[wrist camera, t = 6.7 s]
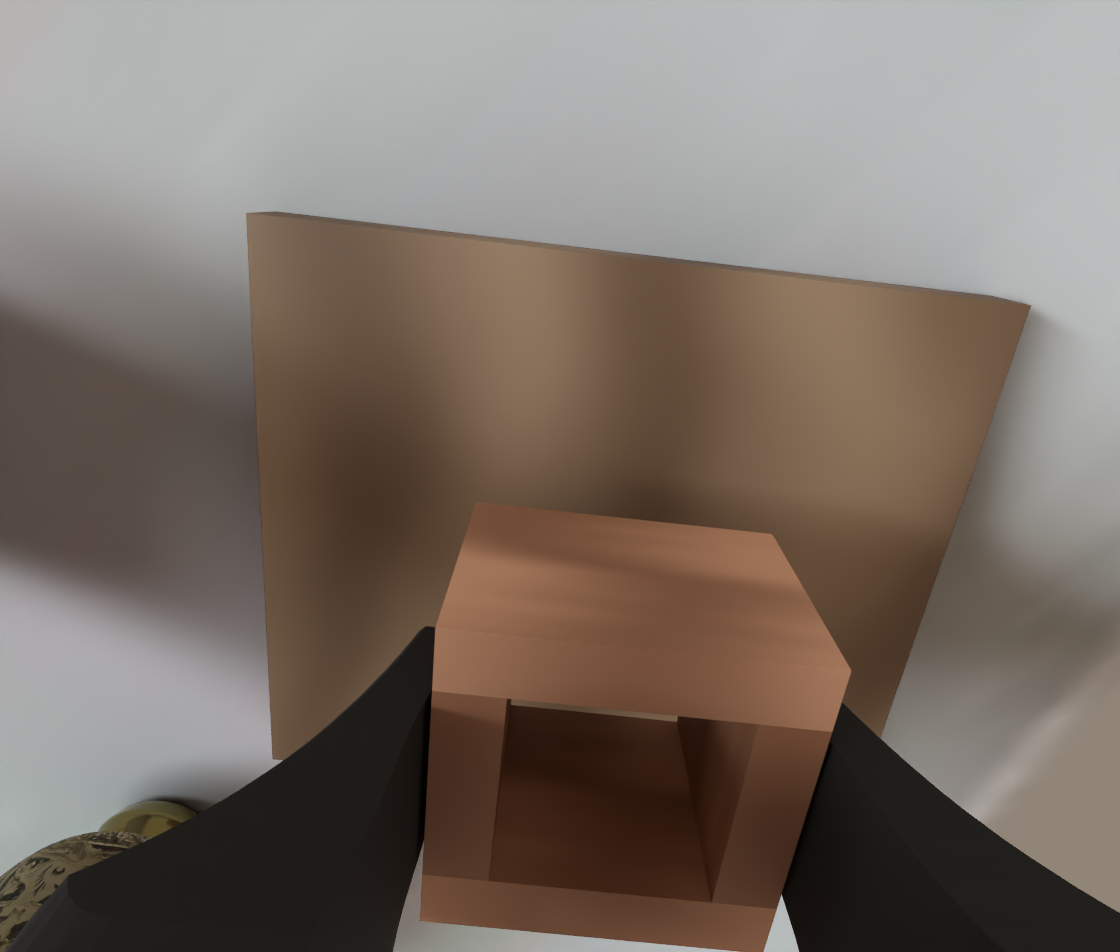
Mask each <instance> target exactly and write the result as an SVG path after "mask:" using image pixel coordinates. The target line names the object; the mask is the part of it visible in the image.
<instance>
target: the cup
mask: <svg viewBox="0 0 1120 952" xmlns="http://www.w3.org/2000/svg"><path fill="white" fill-rule="evenodd" d="M196 815H197V813H196V812H194V811H192V810H191V809H189V808H186V807H184V806H182V805H179V804H176V803H172V802H166V801H145V802H140V803H137V804H134V805H131V806H129V807H127V808H125V809H123V810H122V811H120V812H118V813H117V814H115V815H114V816H112V817H111V818H109V819H108V820H107V821H106V822H105V823H104V824H103V825H102V826H101V827H100V829H99V830H98V832H93V833H87V834H82V835H78V836H73V837H70V838H67V839H64V840H61V841H59V842H56V843H54V844H51V845H49V846H47V847H45V848H43V849H41V850H39V851H37V852H36V853H34V854H32V855H31V856H29V857H27V858H26V859H24V860H22V861H21V862H19V863H18V864H17V865H15V866H14V867H13V868H11V869H10V870H9V871H7V872H6V873H5V874H3V875H2V876H1V877H0V952H5V951H6V950H7V948H8V947H9V946H10V944H11V943H12V942H13V940H14V939H15V938H16V936H17V935H18V934H19V932H20V931H21V930H22V928H23V927H24V926H25V925H26V923H27V922H28V921H29V920H30V918H31V917H32V916H33V915H34V914H35V912H36V911H37V910H38V909H39V907H40V906H41V905H42V904H43V903H44V902H45V901H46V900H47V899H48V898H49V897H50V895H51V894H52V893H53V892H54V891H55V890H56V889H57V888H58V887H59V885H60V884H61V883H62V882H63V881H64V879H65V878H66V877H67V876H68V875H69V874H72V873H74V872H77V871H79V870H82V869H84V868H86V867H89V866H91V865H93V864H95V863H98V862H100V861H102V860H104V859H107V858H109V857H111V856H113V855H116V854H118V853H120V852H122V851H124V850H127V849H129V848H131V847H133V846H136V845H138V844H140V843H142V842H145V841H147V840H149V839H151V838H153V837H155V836H157V835H159V834H161V833H163V832H165V831H167V830H169V829H171V828H173V827H175V826H177V825H178V824H180V823H182V822H184V821H186V820H188V819H190V818H192V817H194V816H196Z"/></svg>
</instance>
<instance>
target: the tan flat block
mask: <svg viewBox="0 0 1120 952" xmlns="http://www.w3.org/2000/svg"><path fill="white" fill-rule="evenodd" d="M246 218H247V239H248V260H249V280H250V301H251V321H252V342H253V363H254V383H255V404H256V425H257V445H258V466H259V487H260V507H261V528H262V549H263V569H264V590H265V611H266V631H267V652H268V673H269V693H270V714H271V735H272V755H273V759H277V760H285V759H286V758H287V757H289V756H290V755H291V754H293V753H294V752H295V751H297V750H298V749H299V748H301V747H302V746H303V745H304V744H306V743H307V742H308V741H309V740H311V739H312V738H313V737H314V736H316V735H317V734H318V733H319V732H320V731H322V730H323V729H324V728H325V727H326V726H328V725H329V724H330V723H331V722H332V721H333V720H334V719H335V718H336V717H338V716H339V715H340V714H341V713H342V712H343V711H344V710H345V709H346V708H348V707H349V706H350V705H351V704H352V703H353V702H354V701H355V700H356V699H357V698H358V697H359V696H361V695H362V694H363V693H364V692H365V691H366V690H367V688H368V687H369V686H370V685H371V684H372V683H373V682H374V681H375V680H376V679H377V678H378V677H379V676H380V675H381V674H382V673H383V672H384V671H385V670H386V669H387V668H388V667H389V666H390V665H391V664H392V662H393V661H394V660H395V659H396V658H397V657H398V656H399V655H400V653H401V652H402V651H403V650H404V649H405V648H406V647H407V645H408V644H409V643H410V642H411V641H412V639H413V638H414V637H415V636H416V634H417V633H418V632H419V631H420V630H421V629H422V628H424V627H425V626H431V627H436V624H437V621H438V618H439V615H440V612H441V609H442V605H443V602H444V599H445V596H446V593H447V590H448V587H449V584H450V581H451V578H452V575H453V572H454V569H455V565H456V562H457V559H458V556H459V553H460V550H461V547H462V544H463V541H464V538H465V535H466V532H467V529H468V525H469V522H470V519H471V516H472V513H473V510H474V507H475V504H476V502H481V503H490V504H499V505H508V506H517V507H527V508H536V509H545V510H554V511H564V512H573V513H582V514H591V515H601V516H610V517H619V518H628V519H638V520H647V521H656V522H665V523H674V524H684V525H693V526H702V527H711V528H721V529H730V530H739V531H748V532H758V533H767V534H772V535H773V536H774V538H775V540H776V541H777V543H778V545H779V547H780V548H781V550H782V552H783V554H784V555H785V557H786V559H787V560H788V562H789V564H790V566H791V567H792V569H793V571H794V572H795V574H796V576H797V578H798V579H799V581H800V583H801V585H802V586H803V588H804V590H805V591H806V593H807V595H808V597H809V598H810V600H811V602H812V604H813V605H814V607H815V609H816V610H817V612H818V614H819V616H820V617H821V619H822V621H823V622H824V624H825V626H826V628H827V629H828V631H829V633H830V635H831V636H832V638H833V640H834V641H835V643H836V645H837V647H838V648H839V650H840V652H841V653H842V655H843V657H844V659H845V660H846V662H847V664H848V666H849V667H850V669H851V674H850V677H849V680H848V683H847V687H846V690H845V693H844V696H843V699H842V702H843V703H844V704H845V705H846V706H847V707H848V708H849V709H850V710H851V711H852V712H853V713H854V714H855V715H856V716H857V717H858V718H859V719H860V720H861V721H862V722H863V723H864V724H865V725H866V726H867V727H869V728H870V729H871V730H872V731H873V732H874V733H875V734H876V735H877V736H878V737H879V738H880V737H881V734H882V731H883V728H884V726H885V723H886V720H887V717H888V714H889V711H890V708H891V705H892V703H893V700H894V697H895V694H896V691H897V688H898V685H899V683H900V680H901V677H902V674H903V671H904V668H905V665H906V662H907V660H908V657H909V654H910V651H911V648H912V645H913V642H914V640H915V637H916V634H917V631H918V628H919V625H920V622H921V619H922V617H923V614H924V611H925V608H926V605H927V602H928V599H929V597H930V594H931V591H932V588H933V585H934V582H935V579H936V576H937V574H938V571H939V568H940V565H941V562H942V559H943V556H944V554H945V551H946V548H947V545H948V542H949V539H950V536H951V533H952V531H953V528H954V525H955V522H956V519H957V516H958V513H959V511H960V508H961V505H962V502H963V499H964V496H965V493H966V490H967V488H968V485H969V482H970V479H971V476H972V473H973V470H974V468H975V465H976V462H977V459H978V456H979V453H980V450H981V447H982V445H983V442H984V439H985V436H986V433H987V430H988V427H989V425H990V422H991V419H992V416H993V413H994V410H995V407H996V404H997V402H998V399H999V396H1000V393H1001V390H1002V387H1003V384H1004V382H1005V379H1006V376H1007V373H1008V370H1009V367H1010V364H1011V361H1012V359H1013V356H1014V353H1015V350H1016V347H1017V344H1018V341H1019V339H1020V336H1021V333H1022V330H1023V327H1024V324H1025V321H1026V318H1027V316H1028V313H1029V310H1030V307H1031V305H1027V304H1023V303H1018V302H1014V301H1010V300H1006V299H1002V298H998V297H994V296H988V295H979V294H971V293H962V292H954V291H945V290H937V289H928V288H920V287H911V286H903V285H894V284H886V283H877V282H869V281H860V280H852V279H843V278H835V277H827V276H818V275H810V274H801V273H793V272H784V271H776V270H767V269H759V268H750V267H742V266H733V265H725V264H716V263H708V262H699V261H691V260H682V259H674V258H665V257H657V256H648V255H640V254H631V253H623V252H614V251H606V250H597V249H589V248H580V247H572V246H563V245H555V244H546V243H538V242H529V241H521V240H512V239H504V238H495V237H487V236H478V235H470V234H461V233H453V232H444V231H436V230H427V229H419V228H410V227H402V226H393V225H385V224H376V223H368V222H359V221H351V220H343V219H334V218H326V217H317V216H309V215H300V214H292V213H283V212H260V213H246ZM511 705H519V706H529V707H539V708H548V709H558V710H568V711H578V712H587V713H597V714H607V715H617V716H626V717H636V718H646V719H656V720H665V721H675V722H677V719H678V716H672V715H662V714H652V713H643V712H633V711H623V710H613V709H604V708H594V707H584V706H575V705H565V704H555V703H545V702H536V701H526V700H516V699H512V700H511Z"/></svg>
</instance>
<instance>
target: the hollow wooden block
mask: <svg viewBox="0 0 1120 952" xmlns="http://www.w3.org/2000/svg"><path fill="white" fill-rule="evenodd" d="M850 674H851V669H850V667H849V666H848V664H847V662H846V660H845V659H844V657H843V655H842V653H841V652H840V650H839V648H838V647H837V645H836V643H835V641H834V640H833V638H832V636H831V635H830V633H829V631H828V629H827V628H826V626H825V624H824V622H823V621H822V619H821V617H820V616H819V614H818V612H817V610H816V609H815V607H814V605H813V604H812V602H811V600H810V598H809V597H808V595H807V593H806V591H805V590H804V588H803V586H802V585H801V583H800V581H799V579H798V578H797V576H796V574H795V572H794V571H793V569H792V567H791V566H790V564H789V562H788V560H787V559H786V557H785V555H784V554H783V552H782V550H781V548H780V547H779V545H778V543H777V541H776V540H775V538H774V536H773V535H772V534H767V533H758V532H748V531H739V530H730V529H721V528H711V527H702V526H693V525H684V524H674V523H665V522H656V521H647V520H638V519H628V518H619V517H610V516H601V515H591V514H582V513H573V512H564V511H554V510H545V509H536V508H527V507H517V506H508V505H499V504H490V503H481V502H476V504H475V507H474V510H473V513H472V516H471V519H470V522H469V525H468V529H467V532H466V535H465V538H464V541H463V544H462V547H461V550H460V553H459V556H458V559H457V562H456V565H455V569H454V572H453V575H452V578H451V581H450V584H449V587H448V590H447V593H446V596H445V599H444V602H443V605H442V609H441V612H440V615H439V618H438V621H437V624H436V627H435V644H434V663H433V682H432V701H431V720H430V739H429V758H428V777H427V796H426V815H425V834H424V853H423V872H422V891H421V910H420V921H427V922H437V923H448V924H458V925H468V926H479V927H489V928H500V929H510V930H521V931H531V932H541V933H552V934H562V935H573V936H583V937H594V938H604V939H614V940H625V941H635V942H646V943H656V944H667V945H677V946H687V947H698V948H708V949H719V950H729V951H740V952H763V951H764V948H765V945H766V942H767V938H768V935H769V932H770V929H771V926H772V922H773V919H774V916H775V913H776V910H777V907H778V903H779V900H780V897H781V894H782V891H783V887H784V884H785V881H786V878H787V875H788V871H789V868H790V865H791V862H792V859H793V856H794V852H795V849H796V846H797V843H798V840H799V836H800V833H801V830H802V827H803V824H804V820H805V817H806V814H807V811H808V808H809V805H810V801H811V798H812V795H813V792H814V789H815V785H816V782H817V779H818V776H819V773H820V770H821V766H822V763H823V760H824V757H825V754H826V750H827V747H828V744H829V741H830V738H831V734H832V731H833V728H834V725H835V722H836V719H837V715H838V712H839V709H840V706H841V703H842V699H843V696H844V693H845V690H846V687H847V683H848V680H849V677H850ZM512 699H516V700H526V701H536V702H545V703H555V704H565V705H575V706H584V707H594V708H604V709H613V710H623V711H633V712H643V713H652V714H662V715H672V716H678V719H677V722H675V721H665V720H656V719H646V718H636V717H626V716H617V715H607V714H597V713H587V712H578V711H568V710H558V709H548V708H539V707H529V706H519V705H511V700H512Z"/></svg>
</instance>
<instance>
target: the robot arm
mask: <svg viewBox="0 0 1120 952" xmlns="http://www.w3.org/2000/svg"><path fill="white" fill-rule="evenodd" d="M434 644H435V627H431V626H425V627H424V628H422V629H421V630H420V631H419V632H418V633H417V634H416V636H415V637H414V638H413V639H412V641H411V642H410V643H409V644H408V645H407V647H406V648H405V649H404V650H403V651H402V652H401V653H400V655H399V656H398V657H397V658H396V659H395V660H394V661H393V662H392V664H391V665H390V666H389V667H388V668H387V669H386V670H385V671H384V672H383V673H382V674H381V675H380V676H379V677H378V678H377V679H376V680H375V681H374V682H373V683H372V684H371V685H370V686H369V687H368V688H367V690H366V691H365V692H364V693H363V694H362V695H361V696H359V697H358V698H357V699H356V700H355V701H354V702H353V703H352V704H351V705H350V706H349V707H348V708H346V709H345V710H344V711H343V712H342V713H341V714H340V715H339V716H338V717H336V718H335V719H334V720H333V721H332V722H331V723H330V724H329V725H328V726H326V727H325V728H324V729H323V730H322V731H320V732H319V733H318V734H317V735H316V736H314V737H313V738H312V739H311V740H309V741H308V742H307V743H306V744H304V745H303V746H302V747H301V748H299V749H298V750H297V751H295V752H294V753H293V754H291V755H290V756H289V757H287V758H286V759H285V760H283V761H282V762H281V763H279V764H278V765H276V766H275V767H273V768H272V769H270V770H269V771H267V772H266V773H264V774H263V775H262V776H260V777H259V778H257V779H256V780H254V781H252V782H251V783H249V784H248V785H246V786H245V787H243V788H242V789H240V790H238V791H237V792H235V793H234V794H232V795H231V796H229V797H227V798H226V799H224V800H222V801H221V802H219V803H217V804H215V805H213V806H212V807H210V808H208V809H206V810H205V811H203V812H201V813H199V814H197V815H196V816H194V817H192V818H190V819H188V820H186V821H184V822H182V823H180V824H178V825H177V826H175V827H173V828H171V829H169V830H167V831H165V832H163V833H161V834H159V835H157V836H155V837H153V838H151V839H149V840H147V841H145V842H142V843H140V844H138V845H136V846H133V847H131V848H129V849H127V850H124V851H122V852H120V853H118V854H116V855H113V856H111V857H109V858H107V859H104V860H102V861H100V862H98V863H95V864H93V865H91V866H89V867H86V868H84V869H82V870H79V871H77V872H74V873H72V874H69V875H68V876H67V877H66V878H65V879H64V881H63V882H62V883H61V884H60V885H59V887H58V888H57V889H56V890H55V891H54V892H53V893H52V894H51V895H50V897H49V898H48V899H47V900H46V901H45V902H44V903H43V904H42V905H41V906H40V907H39V909H38V910H37V911H36V912H35V914H34V915H33V916H32V917H31V918H30V920H29V921H28V922H27V923H26V925H25V926H24V927H23V928H22V930H21V931H20V932H19V934H18V935H17V936H16V938H15V939H14V940H13V942H12V943H11V944H10V946H9V947H8V948H7V950H6V951H5V952H393V947H394V943H395V938H396V934H397V929H398V925H399V921H400V918H401V914H402V910H403V907H404V903H405V899H406V896H407V893H408V889H409V886H410V883H411V880H412V877H413V873H414V870H415V867H416V864H417V861H418V857H419V854H420V851H421V848H422V845H423V842H424V834H425V815H426V796H427V777H428V758H429V739H430V720H431V701H432V682H433V663H434ZM782 896H783V900H784V903H785V906H786V909H787V912H788V915H789V919H790V922H791V925H792V928H793V931H794V934H795V937H796V941H797V945H798V948H799V952H1120V913H1119V912H1117V911H1115V910H1113V909H1112V908H1110V907H1108V906H1107V905H1105V904H1103V903H1102V902H1100V901H1098V900H1097V899H1095V898H1093V897H1092V896H1090V895H1088V894H1087V893H1085V892H1083V891H1082V890H1080V889H1078V888H1077V887H1075V886H1073V885H1072V884H1070V883H1069V882H1067V881H1066V880H1064V879H1062V878H1061V877H1060V876H1058V875H1056V874H1055V873H1053V872H1052V871H1050V870H1049V869H1047V868H1046V867H1044V866H1042V865H1041V864H1039V863H1038V862H1036V861H1035V860H1033V859H1032V858H1030V857H1029V856H1027V855H1026V854H1024V853H1023V852H1021V851H1020V850H1018V849H1017V848H1016V847H1014V846H1013V845H1011V844H1010V843H1008V842H1007V841H1005V840H1004V839H1002V838H1001V837H1000V836H998V835H997V834H996V833H994V832H993V831H992V830H990V829H989V828H988V827H986V826H985V825H984V824H982V823H981V822H980V821H978V820H977V819H976V818H974V817H973V816H972V815H970V814H969V813H968V812H966V811H965V810H963V809H962V808H961V807H960V806H958V805H957V804H956V803H955V802H953V801H952V800H951V799H950V798H948V797H947V796H946V795H944V794H943V793H942V792H941V791H940V790H938V789H937V788H936V787H935V786H934V785H933V784H931V783H930V782H929V781H928V780H927V779H925V778H924V777H923V776H922V775H921V774H920V773H918V772H917V771H916V770H915V769H914V768H912V767H911V766H910V765H909V764H908V763H907V762H906V761H905V760H903V759H902V758H901V757H900V756H899V755H898V754H897V753H896V752H894V751H893V750H892V749H891V748H890V747H889V746H888V745H887V744H886V743H885V742H883V741H882V740H881V739H880V738H879V737H878V736H877V735H876V734H875V733H874V732H873V731H872V730H871V729H870V728H869V727H867V726H866V725H865V724H864V723H863V722H862V721H861V720H860V719H859V718H858V717H857V716H856V715H855V714H854V713H853V712H852V711H851V710H850V709H849V708H848V707H847V706H846V705H845V704H844V703H843V702H842V703H841V706H840V709H839V712H838V715H837V719H836V722H835V725H834V728H833V731H832V734H831V738H830V741H829V744H828V747H827V750H826V754H825V757H824V760H823V763H822V766H821V770H820V773H819V776H818V779H817V782H816V785H815V789H814V792H813V795H812V798H811V801H810V805H809V808H808V811H807V814H806V817H805V820H804V824H803V827H802V830H801V833H800V836H799V840H798V843H797V846H796V849H795V852H794V856H793V859H792V862H791V865H790V868H789V871H788V875H787V878H786V881H785V884H784V887H783V891H782Z"/></svg>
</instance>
